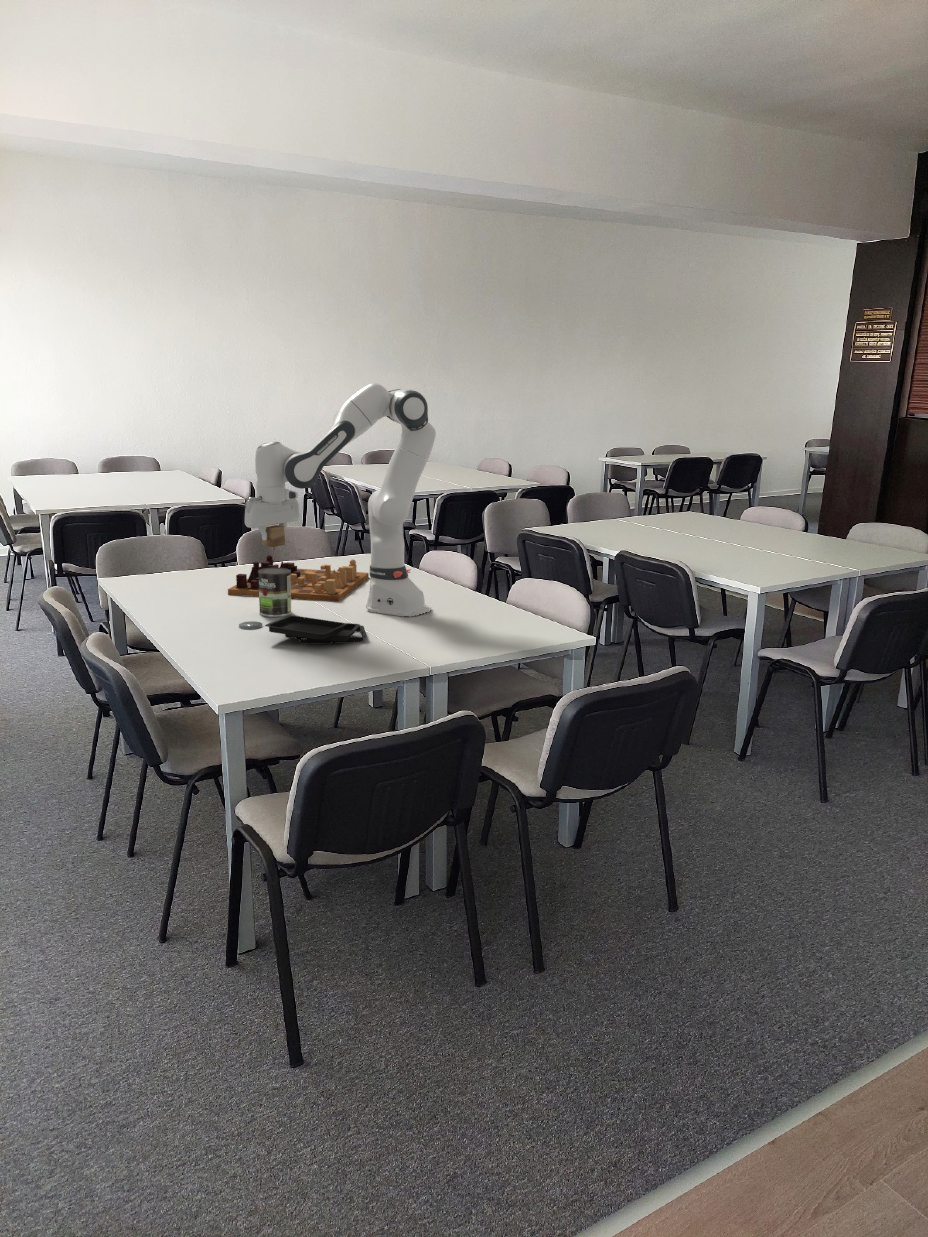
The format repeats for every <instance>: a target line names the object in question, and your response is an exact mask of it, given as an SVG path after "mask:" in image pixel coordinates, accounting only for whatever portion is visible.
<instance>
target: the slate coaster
mask: <svg viewBox="0 0 928 1237" xmlns="http://www.w3.org/2000/svg"><path fill="white" fill-rule="evenodd" d="M262 627H263V622H260V621H254V620H253V621H251V620H250V621H243V622H240V623H239V624H238V628H239V629H242V630H257V629H261V628H262Z"/></svg>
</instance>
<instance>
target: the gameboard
mask: <svg viewBox="0 0 928 1237" xmlns="http://www.w3.org/2000/svg"><path fill="white" fill-rule="evenodd" d="M279 565H280V566H279ZM331 567H332V566H331V564H321V565H320V569H312V568H311V569H309V568H298V565H295V562H283V560H282V561H281V564H274V559H273V556H272V555H271V554H268V555H267V556H266V557H265V561H262V562H259V561H253V562H252V567H251V571H250V573H249V576H248V577H247V575H248V574H246V573H238V574H236V575H235V580H236V584H235V585H233V586H231V587H229V588H228V589H227V595H228V596H229V595H230V596H242V595H253V596H252V597H258V596H259V574H258V570H260V569H264V568H286V569H289V570H291V573H290V578H291V598H298V599H297V600H306V599H309V600H308V601H325V602H340V601H341V600H342V599H344V597H346V596H347V595H348V594H350V593H351V592H352V591H354V590H355V589H356V588H357V587H359V586H360V585H361V584H363V583H364V582H365V581H367V580H368V579H369V578H370V577H369V576H370V572H363V571H362V572H361V571H357V561H356V560H355V559H354V558H353V559H350V561H349V564H348V565H345V566H344V565H343V566H340V567H338V568H337V570H335V568H333V570H332V569H331ZM367 578H368V579H367ZM363 581H364V582H363Z"/></svg>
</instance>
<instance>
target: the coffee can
mask: <svg viewBox="0 0 928 1237" xmlns="http://www.w3.org/2000/svg"><path fill="white" fill-rule="evenodd" d="M290 573H291V570H289V569H286V568H280V567H279V568H264V569H260V570H258V574H259V597H258V598H259V600H258V602H259V613H258V614H259V615H260V616H263V617H267V618H268V617H269V618H283V617H286V616H291V615H292V599H291V578H290Z"/></svg>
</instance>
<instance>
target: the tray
mask: <svg viewBox="0 0 928 1237" xmlns="http://www.w3.org/2000/svg"><path fill="white" fill-rule="evenodd" d="M264 626H265V627H268V632H270V633H274V634H282V635H285V638H289V639H296V640H297V641H298V640H299V644H301V645H319V644H321V645H323V644H350V643H351V644H354V643H363V642H364V639H365V638H368V634H367V632H366V629H365V626H364V625H362V624H360V623H351V622H340V621H334V620H328V619H327V620H326V619H320V618H313V617H306V616H299V615H287V616H283V617H280V618H278V619H276V620H274V621H272V622H271V621H270V622H269V623H266V624H265V625H264ZM357 632H360V635H361V636H358V637H352V636H353V635H354V634H355V633H357Z"/></svg>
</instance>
